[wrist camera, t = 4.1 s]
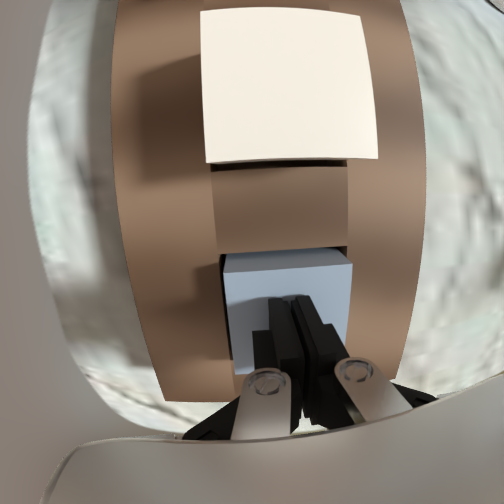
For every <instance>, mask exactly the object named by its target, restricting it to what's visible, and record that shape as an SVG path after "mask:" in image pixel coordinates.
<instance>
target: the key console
mask: <svg viewBox="0 0 504 504" xmlns="http://www.w3.org/2000/svg"><path fill="white" fill-rule="evenodd" d="M247 7H284V8H302V9H314V10H323V11H331V12H339V13H345V14H351V15H357V16H360V19H361V23H362V28H363V33H364V37H365V43H366V48H367V54H368V60H369V66H370V72H371V79H372V87H373V96H374V105H375V115H376V128H377V144H378V159H349V160H283V161H259V162H242V163H228V164H212V163H206V152H205V136H204V119H203V98H202V73H201V32H200V11H208V10H217V9H229V8H247ZM111 134H112V153H113V167H114V178H115V188H116V197H117V205H118V213H119V220H120V227H121V233H122V240H123V245H124V251H125V256H126V262H127V267H128V272H129V277H130V281H131V286H132V290H133V295H134V299H135V303H136V307H137V311H138V315H139V319H140V323H141V327H142V330H143V334H144V337H145V341H146V344H147V348H148V351H149V354H150V357H151V361H152V364H153V367H154V370H155V373H156V376H157V379H158V382H159V385H160V388H161V390H162V393H163V396H164V399H165V401H176V402H231V401H233V400H234V399H236V398H237V397H238V396H240V395H241V390H242V386H243V381H244V379H245V377H246V376H247V375H248V374H235V370H234V362H233V354H232V346H231V338H230V329H229V321H228V312H227V303H226V294H225V284H224V274H223V273H224V267H225V261H226V256H227V254H228V253H244V252H259V251H274V250H289V249H304V248H319V247H335V248H336V249H338V250H339V251H340V252H341V253H342V254H343V255H344V256H345V257H346V258H347V259H348V260H349V261H350V262H351V263H352V264H353V266H352V281H351V293H350V304H349V314H348V323H347V332H346V340H345V348H346V350H347V352H348V354H349V356H350V357H361V358H366V359H368V360H370V361H372V362H373V363H374V364H375V365H376V366H377V367H378V368H379V369H380V370H381V372H382V373H383V374H384V375H385V376H386V377H387V379H388V380H391V379H395V378H396V374H397V371H398V368H399V364H400V361H401V357H402V354H403V350H404V346H405V342H406V338H407V334H408V330H409V325H410V321H411V316H412V311H413V306H414V301H415V296H416V290H417V284H418V278H419V271H420V263H421V255H422V246H423V236H424V224H425V206H426V148H425V131H424V119H423V109H422V100H421V93H420V86H419V79H418V73H417V68H416V62H415V57H414V52H413V48H412V44H411V39H410V35H409V31H408V27H407V24H406V20H405V17H404V13H403V10H402V7H401V4H400V0H119V2H118V9H117V16H116V24H115V33H114V43H113V56H112V74H111Z"/></svg>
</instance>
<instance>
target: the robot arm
mask: <svg viewBox="0 0 504 504" xmlns="http://www.w3.org/2000/svg"><path fill="white" fill-rule="evenodd" d="M489 1H490V2H491V3H492V4H494V5H495V6H496V7H497V8H498V9H500V10H501V11H502V12H504V0H489ZM268 309H269V330H256V331H252V339H253V355H254V371H252V372H251V373H249V374H248V375H247V376H246V377H245V379H244V381H243V386H242V390H241V395H240V396H238V397H237V398H236V399H234V400H233V401H231V402H230V403H229V404H227V405H226V406H224V407H223V408H221V409H220V410H218V411H217V412H215V413H214V414H213V415H211V416H210V417H208V418H206V419H205V420H203V421H202V422H200V423H199V424H197V425H196V426H194V427H193V428H191V429H190V430H188V431H187V432H186V433H185V434H184V436H175V434H165V435H155V436H141V437H122V438H121V437H120V438H115V439H107V440H100V441H94V442H90V443H86V444H82V445H80V446H78V447H76V448H74V449H73V450H71V451H70V452H69V453H68V454H67V455H66V456H65V457H64V458H63V459H62V461H61V462H60V463H59V465H58V467H57V468H56V470H55V471H54V473H53V475H52V477H51V479H50V480H49V483H48V485H47V487H46V489H45V492H44V494H43V496H42V498H41V501H40V503H39V504H504V374H501V375H498V376H495V377H493V378H490V379H487V380H485V381H483V382H480V383H478V384H475V385H473V386H471V387H468V388H466V389H464V390H461V391H458V392H452V393H447V394H440V395H438V396H437V398H435V397H434V396H432V395H430V394H427V393H424V392H420V391H417V390H414V389H410V388H407V387H404V386H401V385H397V384H394V383H391V382H390V381H389V380H388V379H387V377H386V376H385V375H384V374H383V373H382V372H381V370H380V369H379V368H378V367H377V366H376V365H375V364H374V363H373V362H372V361H370V360H368V359H366V358H361V357H350V356H349V354H348V352H347V350H346V348H345V346H344V344H343V343H342V341H341V339H340V337H339V335H338V333H337V331H336V329H335V328H334V326H333V324H332V323H329V324H323V322H322V320H321V318H320V316H319V314H318V312H317V310H316V308H315V306H314V304H313V302H312V300H311V298H310V296H309V295H306V296H296V297H295V300H291V311H290V308H289V304H288V301H283V300H282V298H270V299H268ZM302 409H303V413H304V417H305V418H310V421H311V425H317V424H319V425H321V426H323V427H325V430H324V431H321V432H315V433H308V434H301V435H294V436H290V434H291V433H292V432H293V431H294V430H295V429H296V428H297V427H298V426H299V419H301V412H302Z"/></svg>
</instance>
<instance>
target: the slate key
mask: <svg viewBox="0 0 504 504" xmlns="http://www.w3.org/2000/svg"><path fill="white" fill-rule="evenodd" d="M352 266H353V264H352V263H351V262H350V261H349V260H348V259H347V258H346V257H345V256H344V255H343V254H342V253H341V252H340V251H339V250H338V249H336V248H335V247H319V248H304V249H289V250H274V251H259V252H244V253H228V254H227V256H226V261H225V267H224V273H223V274H224V284H225V294H226V303H227V312H228V321H229V329H230V338H231V346H232V354H233V362H234V370H235V374H249V373H251V372H252V371H254V355H253V339H252V331H256V330H269V309H268V299H270V298H282V300H283V301H288V304H289V308H290V311H291V300H295V297H296V296H306V295H309V296H310V298H311V300H312V302H313V304H314V306H315V308H316V310H317V312H318V314H319V316H320V318H321V320H322V322H323V324H329V323H332V324H333V326H334V328H335V329H336V331H337V333H338V335H339V337H340V339H341V341H342V343H343V344H344V346H345V340H346V332H347V323H348V314H349V304H350V293H351V281H352Z"/></svg>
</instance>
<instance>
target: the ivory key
mask: <svg viewBox="0 0 504 504" xmlns="http://www.w3.org/2000/svg"><path fill="white" fill-rule="evenodd" d="M200 32H201V73H202V98H203V119H204V136H205V152H206V163H212V164H228V163H242V162H259V161H283V160H349V159H378V144H377V128H376V115H375V105H374V96H373V87H372V79H371V72H370V66H369V60H368V54H367V48H366V43H365V37H364V33H363V28H362V23H361V19H360V16H357V15H351V14H345V13H339V12H331V11H323V10H314V9H302V8H284V7H247V8H229V9H217V10H208V11H200Z"/></svg>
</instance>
